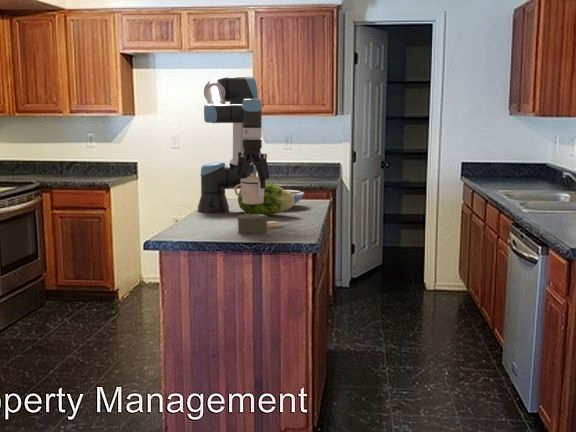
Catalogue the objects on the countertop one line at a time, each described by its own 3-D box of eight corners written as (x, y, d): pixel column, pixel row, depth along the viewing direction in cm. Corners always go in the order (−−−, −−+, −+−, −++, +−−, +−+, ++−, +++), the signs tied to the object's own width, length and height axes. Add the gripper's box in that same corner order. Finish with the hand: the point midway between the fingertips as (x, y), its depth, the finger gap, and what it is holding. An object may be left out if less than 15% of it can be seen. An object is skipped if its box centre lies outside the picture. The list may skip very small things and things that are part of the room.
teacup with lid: (265, 201, 253) (265, 172, 251) (262, 204, 244) (262, 175, 242) (236, 200, 254) (236, 172, 252) (232, 204, 245) (232, 174, 243)
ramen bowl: (283, 201, 333) (283, 186, 331) (314, 206, 317) (315, 190, 316) (248, 207, 315) (248, 191, 314) (280, 212, 299) (280, 195, 298)
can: (231, 232, 252) (231, 215, 250) (256, 228, 259) (256, 212, 258) (248, 236, 242) (248, 219, 241) (273, 233, 249) (273, 216, 248)
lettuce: (292, 219, 281) (292, 185, 279) (234, 217, 285) (234, 183, 282) (296, 213, 296) (296, 181, 293) (241, 212, 300) (241, 180, 297)
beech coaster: (254, 226, 264) (254, 223, 264) (270, 223, 271) (270, 220, 271) (271, 229, 257) (271, 226, 257) (287, 226, 265) (287, 223, 264)
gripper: (226, 138, 249) (226, 193, 252) (265, 140, 234) (265, 199, 238) (239, 137, 254) (240, 192, 258) (278, 139, 240) (278, 197, 243)
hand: (252, 195), depth 248 cm, fingers closed on teacup with lid, 9 cm apart
